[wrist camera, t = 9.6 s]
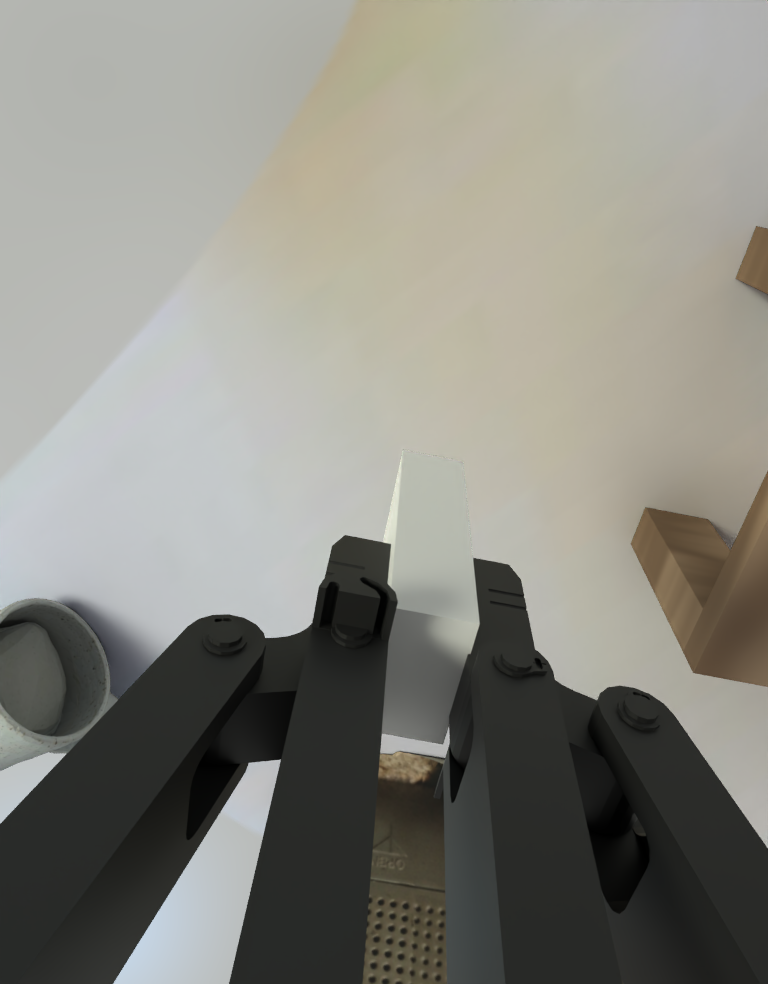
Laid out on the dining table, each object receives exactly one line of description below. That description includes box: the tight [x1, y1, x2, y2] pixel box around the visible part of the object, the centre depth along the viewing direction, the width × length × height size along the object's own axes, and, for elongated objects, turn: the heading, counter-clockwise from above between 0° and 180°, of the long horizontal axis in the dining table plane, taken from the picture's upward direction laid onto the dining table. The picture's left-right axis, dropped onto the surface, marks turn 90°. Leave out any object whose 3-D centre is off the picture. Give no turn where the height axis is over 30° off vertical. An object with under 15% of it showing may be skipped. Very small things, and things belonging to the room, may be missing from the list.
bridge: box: [631, 226, 768, 687], centre depth 27 cm, size 3×14×9 cm, turn 170°
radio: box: [363, 752, 623, 984], centre depth 37 cm, size 23×9×15 cm, turn 79°
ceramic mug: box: [0, 598, 119, 771], centre depth 37 cm, size 10×8×7 cm
